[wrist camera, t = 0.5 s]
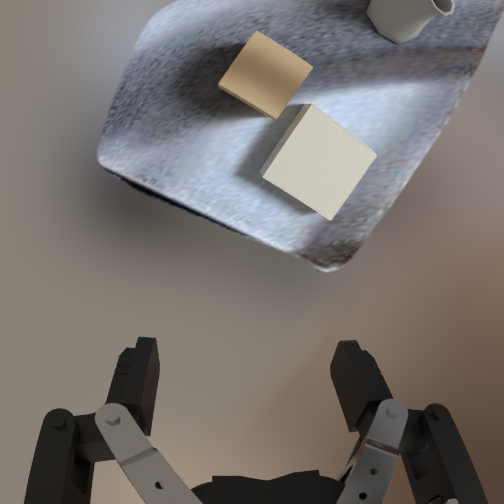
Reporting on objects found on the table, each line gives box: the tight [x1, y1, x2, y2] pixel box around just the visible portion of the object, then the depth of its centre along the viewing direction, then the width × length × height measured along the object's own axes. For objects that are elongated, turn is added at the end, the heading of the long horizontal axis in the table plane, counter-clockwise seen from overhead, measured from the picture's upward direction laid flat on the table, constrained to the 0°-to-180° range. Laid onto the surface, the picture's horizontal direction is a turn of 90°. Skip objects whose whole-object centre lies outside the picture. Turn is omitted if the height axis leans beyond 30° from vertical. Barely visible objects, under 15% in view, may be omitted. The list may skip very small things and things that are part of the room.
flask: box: [366, 0, 455, 45], centre depth 22 cm, size 7×7×10 cm
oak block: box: [218, 31, 313, 119], centre depth 27 cm, size 6×6×6 cm
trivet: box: [259, 104, 377, 221], centre depth 33 cm, size 9×9×3 cm
